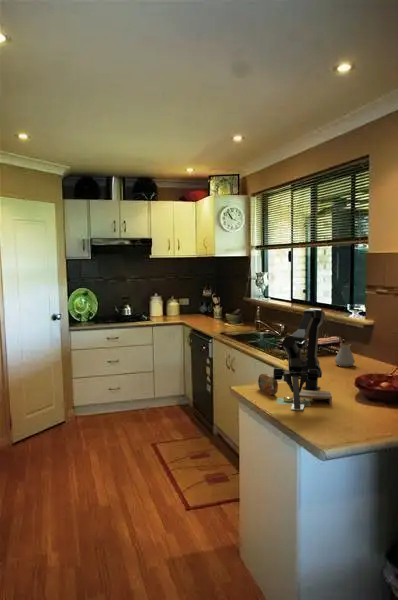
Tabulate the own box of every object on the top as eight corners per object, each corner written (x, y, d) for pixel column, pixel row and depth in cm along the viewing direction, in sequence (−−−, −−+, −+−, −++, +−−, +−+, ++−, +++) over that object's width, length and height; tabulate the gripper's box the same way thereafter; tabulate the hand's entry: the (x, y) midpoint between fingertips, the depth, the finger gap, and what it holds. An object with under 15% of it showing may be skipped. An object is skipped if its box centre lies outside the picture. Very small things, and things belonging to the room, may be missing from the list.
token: (283, 399, 209) (283, 396, 209) (293, 399, 209) (293, 396, 208) (283, 402, 205) (283, 398, 205) (293, 402, 204) (293, 399, 204)
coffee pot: (356, 367, 269) (357, 342, 268) (336, 367, 270) (337, 342, 269) (347, 359, 290) (348, 336, 289) (329, 359, 291) (329, 336, 290)
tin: (257, 388, 227) (257, 372, 226) (263, 388, 228) (263, 371, 227) (272, 397, 213) (273, 379, 212) (278, 396, 214) (279, 378, 213)
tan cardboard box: (295, 398, 211) (295, 390, 210) (329, 399, 209) (329, 391, 208) (296, 404, 203) (296, 395, 202) (331, 405, 201) (331, 396, 200)
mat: (276, 398, 211) (276, 397, 211) (308, 399, 209) (308, 399, 209) (277, 404, 202) (277, 404, 202) (310, 405, 200) (310, 405, 200)
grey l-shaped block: (294, 399, 209) (292, 369, 208) (305, 399, 207) (303, 369, 206) (291, 410, 194) (288, 377, 193) (303, 410, 193) (301, 377, 192)
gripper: (273, 349, 198) (274, 381, 188) (318, 350, 195) (321, 383, 185) (273, 363, 206) (273, 394, 197) (315, 364, 204) (318, 396, 194)
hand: (296, 392), depth 193 cm, fingers closed on grey l-shaped block, 3 cm apart
